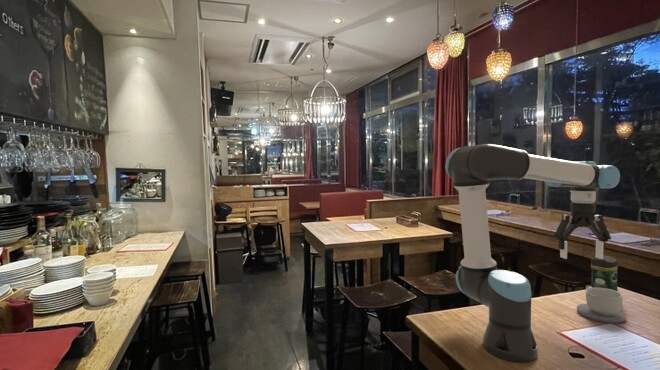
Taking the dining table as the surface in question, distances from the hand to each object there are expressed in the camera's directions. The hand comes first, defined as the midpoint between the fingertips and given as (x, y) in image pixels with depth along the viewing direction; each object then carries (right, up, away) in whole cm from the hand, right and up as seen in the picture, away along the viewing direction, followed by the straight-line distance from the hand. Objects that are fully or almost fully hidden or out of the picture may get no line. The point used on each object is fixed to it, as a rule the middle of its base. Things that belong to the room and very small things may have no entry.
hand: (581, 258), depth 129 cm
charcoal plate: (+8, -22, 0) cm, 23 cm away
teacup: (+8, -20, 0) cm, 22 cm away
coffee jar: (+20, -21, +14) cm, 33 cm away
